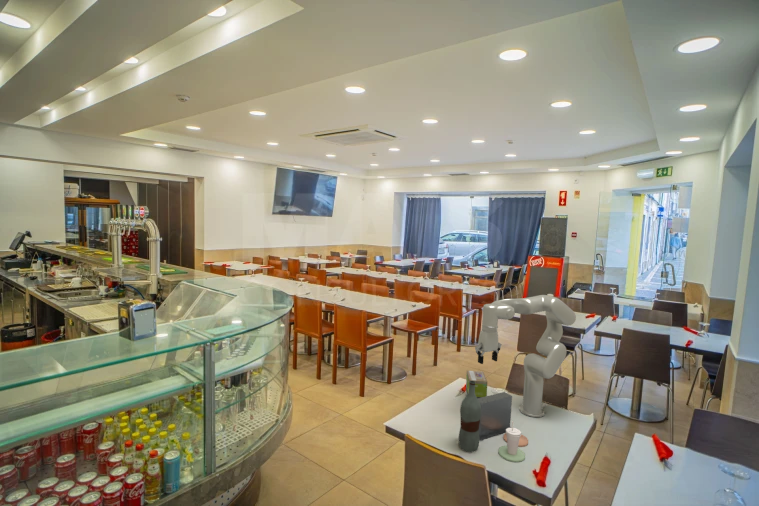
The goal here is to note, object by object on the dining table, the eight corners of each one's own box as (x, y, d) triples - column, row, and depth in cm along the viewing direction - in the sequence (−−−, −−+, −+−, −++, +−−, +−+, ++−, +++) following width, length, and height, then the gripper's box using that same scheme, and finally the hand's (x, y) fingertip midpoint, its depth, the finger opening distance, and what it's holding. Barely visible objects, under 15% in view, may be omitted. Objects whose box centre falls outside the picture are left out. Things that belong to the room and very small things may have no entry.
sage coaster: (510, 445, 181) (510, 443, 181) (530, 458, 172) (530, 455, 172) (493, 451, 176) (493, 449, 176) (512, 464, 166) (512, 462, 166)
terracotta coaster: (514, 432, 193) (514, 430, 193) (533, 443, 184) (533, 441, 184) (498, 437, 188) (498, 435, 188) (516, 449, 178) (516, 447, 178)
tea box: (465, 394, 235) (466, 369, 234) (482, 395, 234) (483, 370, 233) (468, 405, 220) (469, 379, 219) (486, 407, 219) (488, 380, 218)
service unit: (502, 424, 201) (504, 390, 200) (512, 430, 195) (515, 396, 193) (468, 433, 190) (471, 398, 189) (479, 441, 184) (481, 404, 183)
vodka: (455, 441, 183) (459, 377, 181) (475, 441, 184) (479, 377, 181) (461, 452, 174) (465, 385, 171) (481, 452, 174) (486, 386, 172)
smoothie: (502, 448, 177) (504, 417, 176) (516, 448, 177) (518, 417, 176) (507, 456, 170) (509, 425, 169) (522, 456, 171) (524, 425, 170)
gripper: (496, 325, 209) (494, 357, 210) (471, 328, 200) (469, 361, 202) (507, 329, 202) (505, 361, 204) (482, 332, 194) (480, 366, 195)
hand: (487, 361), depth 203 cm, fingers open, 9 cm apart
